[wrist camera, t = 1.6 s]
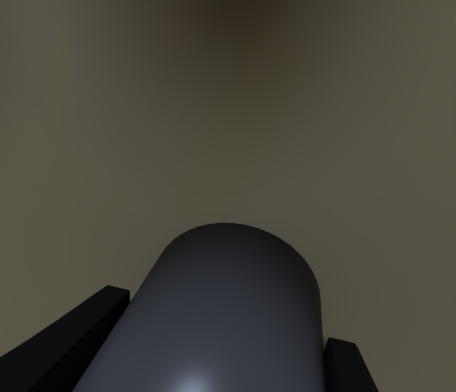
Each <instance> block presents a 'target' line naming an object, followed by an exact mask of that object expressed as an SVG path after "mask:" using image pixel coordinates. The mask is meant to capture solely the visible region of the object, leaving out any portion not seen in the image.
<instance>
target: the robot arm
mask: <svg viewBox="0 0 456 392" xmlns="http://www.w3.org/2000/svg"><path fill="white" fill-rule="evenodd" d="M129 303H130V290H126V289H122V288H118V287H114V286H109V285H107V286H106V287H104V288H103V289H101V290H100V291H98V292H97V293H95V294H94V295H92V296H91V297H90V298H88V299H87V300H85V301H84V302H82V303H81V304H80V305H78V306H77V307H75V308H74V309H73V310H71V311H70V312H68V313H67V314H65V315H64V316H62V317H61V318H60V319H58V320H57V321H55V322H54V323H52V324H51V325H49V326H48V327H46V328H45V329H43V330H42V331H40V332H39V333H37V334H36V335H34V336H33V337H31V338H30V339H28V340H27V341H25V342H24V343H22V344H21V345H19V346H18V347H16V348H14V349H13V350H11V351H10V352H8V353H6V354H5V355H3V356H1V357H0V392H72V391H73V390H74V388H75V387H76V385H77V384H78V382H79V380H80V379H81V377H82V376H83V374H84V373H85V371H86V370H87V368H88V367H89V365H90V363H91V362H92V360H93V359H94V357H95V356H96V354H97V353H98V351H99V350H100V348H101V346H102V345H103V343H104V342H105V340H106V339H107V337H108V336H109V334H110V333H111V331H112V329H113V328H114V326H115V325H116V323H117V322H118V320H119V319H120V317H121V316H122V314H123V312H124V311H125V309H126V308H127V306H128V305H129ZM324 371H325V388H326V392H379V391H378V389H377V387H376V385H375V383H374V381H373V379H372V377H371V375H370V373H369V371H368V369H367V366H366V364H365V362H364V360H363V358H362V356H361V353H360V351H359V349H358V347H357V346H356V344H355V343H351V342H347V341H343V340H339V339H334V338H330V337H329V338H328V341H327V344H326V347H325V350H324Z"/></svg>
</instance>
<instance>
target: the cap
mask: <svg viewBox="0 0 456 392" xmlns="http://www.w3.org/2000/svg"><path fill="white" fill-rule="evenodd" d="M72 392H326V388H325V371H324V353H323V335H322V317H321V299H320V291H319V287H318V283H317V280H316V278H315V276H314V274H313V271H312V270H311V268H310V267H309V265H308V264H307V262H306V261H305V260H304V259H303V257H302V256H301V255H300V254H299V253H298V252H297V251H296V250H295V249H294V248H292V247H291V246H290V245H289V244H287V243H286V242H285V241H283V240H282V239H280V238H278V237H276V236H275V235H273V234H271V233H269V232H266V231H264V230H261V229H259V228H255V227H251V226H248V225H243V224H236V223H215V224H208V225H203V226H199V227H196V228H193V229H191V230H188V231H186V232H185V233H183V234H181V235H179V236H178V237H177V238H175V239H174V240H173V241H172V242H171V243H170V244H169V245H168V246H167V247H166V248H165V249H164V251H163V252H162V254H161V255H160V257H159V258H158V260H157V261H156V263H155V265H154V266H153V268H152V269H151V271H150V272H149V274H148V275H147V277H146V278H145V280H144V282H143V283H142V285H141V286H140V288H139V289H138V291H137V292H136V294H135V295H134V297H133V299H132V300H131V302H130V303H129V305H128V306H127V308H126V309H125V311H124V312H123V314H122V316H121V317H120V319H119V320H118V322H117V323H116V325H115V326H114V328H113V329H112V331H111V333H110V334H109V336H108V337H107V339H106V340H105V342H104V343H103V345H102V346H101V348H100V350H99V351H98V353H97V354H96V356H95V357H94V359H93V360H92V362H91V363H90V365H89V367H88V368H87V370H86V371H85V373H84V374H83V376H82V377H81V379H80V380H79V382H78V384H77V385H76V387H75V388H74V390H73V391H72Z"/></svg>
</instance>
